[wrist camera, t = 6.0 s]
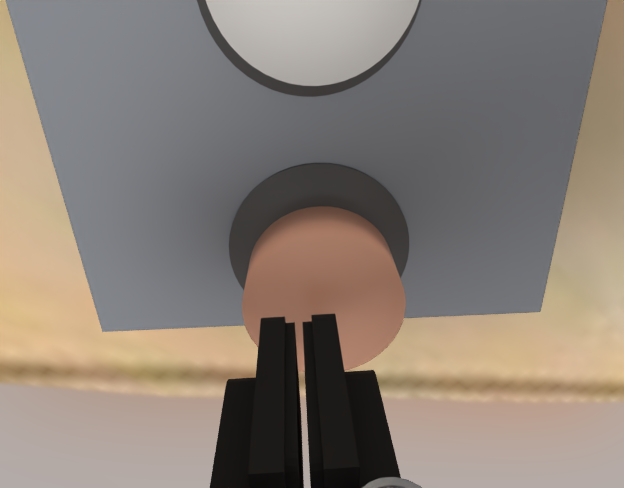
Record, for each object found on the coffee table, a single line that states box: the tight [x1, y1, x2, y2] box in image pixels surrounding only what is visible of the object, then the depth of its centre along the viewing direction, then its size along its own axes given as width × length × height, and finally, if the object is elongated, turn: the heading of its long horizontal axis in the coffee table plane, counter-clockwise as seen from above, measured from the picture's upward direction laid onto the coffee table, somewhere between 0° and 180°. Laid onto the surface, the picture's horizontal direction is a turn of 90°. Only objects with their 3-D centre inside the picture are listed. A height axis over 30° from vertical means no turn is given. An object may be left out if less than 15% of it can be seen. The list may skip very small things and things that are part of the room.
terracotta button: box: [242, 206, 406, 372], centre depth 14 cm, size 4×4×2 cm
